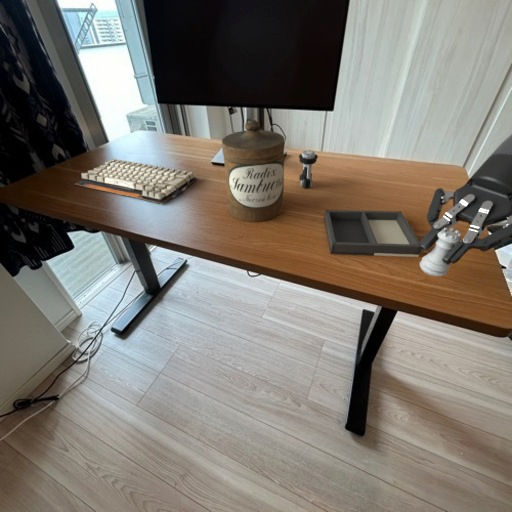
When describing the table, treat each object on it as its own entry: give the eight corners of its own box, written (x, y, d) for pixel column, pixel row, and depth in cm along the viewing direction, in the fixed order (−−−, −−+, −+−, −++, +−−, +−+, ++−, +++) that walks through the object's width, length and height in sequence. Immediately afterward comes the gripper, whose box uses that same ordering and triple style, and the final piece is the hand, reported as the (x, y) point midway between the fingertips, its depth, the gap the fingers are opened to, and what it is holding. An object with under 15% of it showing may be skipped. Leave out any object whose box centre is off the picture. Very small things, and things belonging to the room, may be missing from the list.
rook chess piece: (450, 268, 48) (471, 230, 42) (442, 281, 45) (464, 243, 40) (423, 257, 50) (440, 221, 45) (414, 270, 48) (431, 232, 42)
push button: (292, 181, 86) (294, 149, 79) (308, 178, 87) (311, 147, 80) (301, 190, 81) (303, 157, 74) (317, 187, 82) (321, 154, 76)
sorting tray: (397, 220, 67) (401, 211, 65) (418, 257, 56) (423, 246, 54) (324, 219, 68) (325, 209, 67) (330, 254, 58) (332, 244, 56)
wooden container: (233, 226, 67) (224, 132, 53) (225, 198, 78) (215, 115, 64) (290, 217, 69) (295, 125, 55) (274, 192, 80) (275, 110, 66)
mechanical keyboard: (73, 185, 88) (69, 175, 86) (118, 164, 102) (114, 155, 100) (165, 206, 76) (162, 195, 74) (202, 180, 89) (200, 170, 87)
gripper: (465, 141, 43) (391, 227, 46) (581, 169, 33) (477, 275, 37) (469, 166, 48) (402, 242, 52) (570, 196, 39) (480, 287, 42)
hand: (434, 255), depth 44 cm, fingers closed on rook chess piece, 3 cm apart
